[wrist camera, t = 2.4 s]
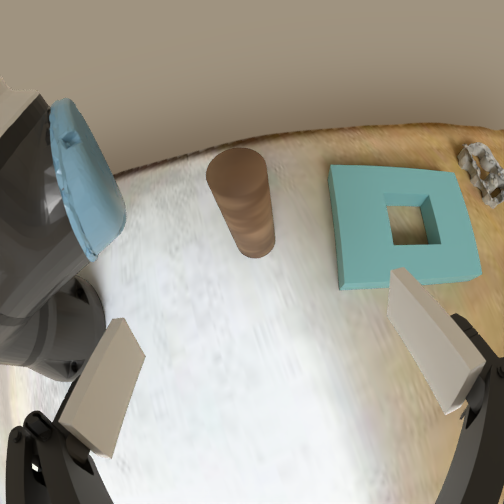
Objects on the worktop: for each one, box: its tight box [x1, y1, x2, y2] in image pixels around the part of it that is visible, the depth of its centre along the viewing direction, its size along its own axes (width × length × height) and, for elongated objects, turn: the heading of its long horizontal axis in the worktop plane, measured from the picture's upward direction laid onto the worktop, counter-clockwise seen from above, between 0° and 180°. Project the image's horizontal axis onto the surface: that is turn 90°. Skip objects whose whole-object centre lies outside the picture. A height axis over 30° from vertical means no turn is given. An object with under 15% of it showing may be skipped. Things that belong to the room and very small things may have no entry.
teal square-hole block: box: [328, 165, 482, 290], centre depth 28 cm, size 18×14×3 cm
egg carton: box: [457, 142, 504, 209], centre depth 29 cm, size 11×8×4 cm
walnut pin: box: [206, 148, 275, 258], centre depth 25 cm, size 4×4×13 cm
